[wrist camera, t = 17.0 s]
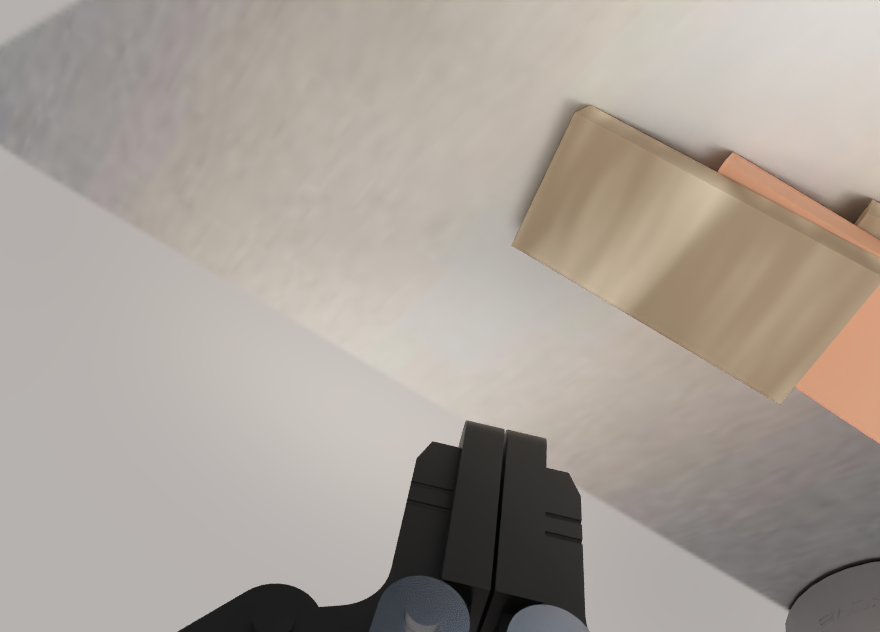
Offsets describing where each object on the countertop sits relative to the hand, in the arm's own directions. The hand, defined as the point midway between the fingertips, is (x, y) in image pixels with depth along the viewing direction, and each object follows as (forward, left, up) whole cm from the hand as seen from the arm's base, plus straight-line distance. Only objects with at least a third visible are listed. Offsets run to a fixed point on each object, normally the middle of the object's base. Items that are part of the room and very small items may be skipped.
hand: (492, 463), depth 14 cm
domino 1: (-1, -1, -14) cm, 14 cm away
